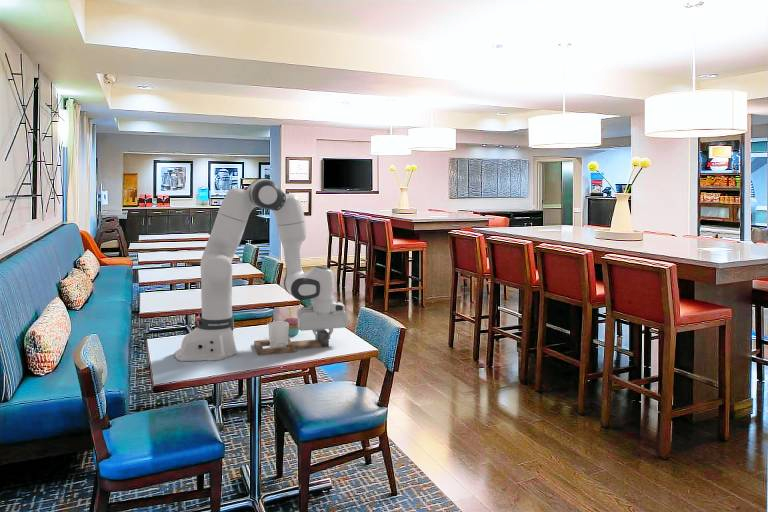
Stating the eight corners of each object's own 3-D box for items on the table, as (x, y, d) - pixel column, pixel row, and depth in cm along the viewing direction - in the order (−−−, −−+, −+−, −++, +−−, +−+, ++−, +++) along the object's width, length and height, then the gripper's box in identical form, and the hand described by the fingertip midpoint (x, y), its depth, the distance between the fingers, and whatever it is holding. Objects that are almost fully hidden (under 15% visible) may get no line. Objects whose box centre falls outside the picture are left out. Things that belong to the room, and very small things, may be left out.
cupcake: (278, 334, 248) (278, 306, 246) (293, 330, 254) (293, 303, 252) (291, 338, 242) (291, 310, 240) (306, 334, 249) (306, 306, 247)
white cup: (285, 351, 224) (285, 326, 222) (265, 350, 225) (265, 325, 223) (291, 345, 232) (291, 321, 230) (272, 344, 232) (271, 320, 231)
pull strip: (258, 355, 219) (258, 341, 218) (254, 344, 232) (254, 331, 231) (330, 349, 228) (330, 335, 227) (322, 339, 241) (322, 326, 241)
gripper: (298, 309, 226) (298, 343, 228) (349, 306, 232) (348, 339, 234) (295, 305, 232) (295, 339, 234) (344, 302, 238) (344, 335, 240)
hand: (322, 339), depth 234 cm, fingers closed on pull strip, 3 cm apart
